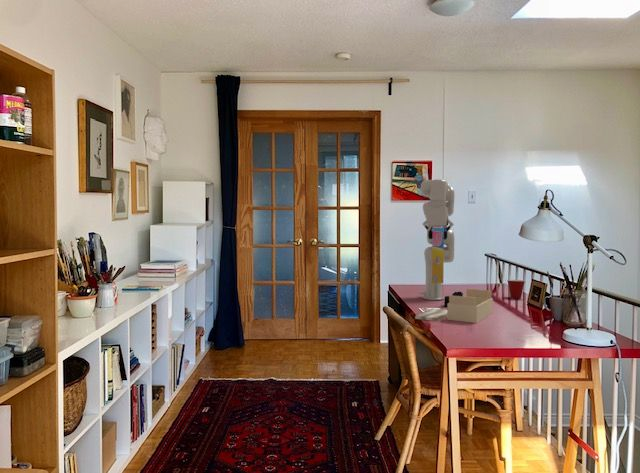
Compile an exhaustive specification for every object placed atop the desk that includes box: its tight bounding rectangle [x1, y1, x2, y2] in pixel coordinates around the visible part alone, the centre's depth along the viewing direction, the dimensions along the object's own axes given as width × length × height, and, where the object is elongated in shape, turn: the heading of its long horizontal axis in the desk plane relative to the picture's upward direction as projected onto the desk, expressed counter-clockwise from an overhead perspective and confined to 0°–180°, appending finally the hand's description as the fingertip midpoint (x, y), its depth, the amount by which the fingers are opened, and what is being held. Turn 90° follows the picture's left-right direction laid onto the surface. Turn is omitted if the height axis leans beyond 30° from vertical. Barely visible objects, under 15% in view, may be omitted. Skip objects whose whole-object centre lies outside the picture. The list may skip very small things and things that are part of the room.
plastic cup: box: [506, 279, 526, 300], centre depth 317 cm, size 11×11×12 cm
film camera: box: [443, 291, 464, 308], centre depth 289 cm, size 15×10×9 cm, turn 159°
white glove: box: [414, 308, 447, 322], centre depth 264 cm, size 11×24×2 cm, turn 147°
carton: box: [446, 288, 494, 324], centre depth 263 cm, size 15×29×12 cm, turn 147°
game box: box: [431, 226, 445, 284], centre depth 263 cm, size 21×6×27 cm, turn 168°
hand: (437, 238), depth 262 cm, fingers closed on game box, 6 cm apart
